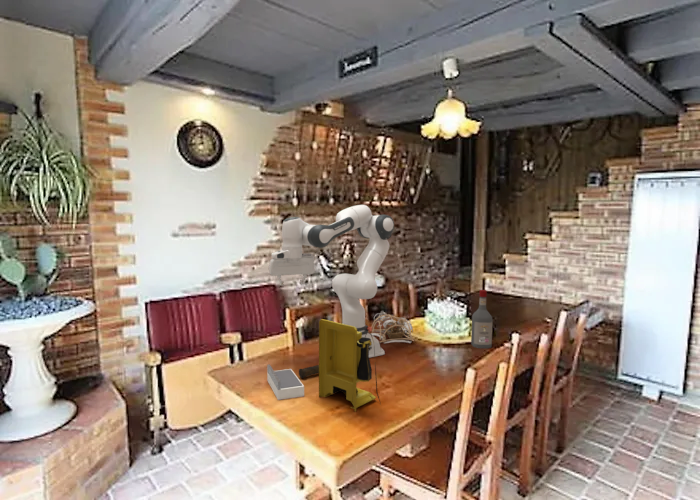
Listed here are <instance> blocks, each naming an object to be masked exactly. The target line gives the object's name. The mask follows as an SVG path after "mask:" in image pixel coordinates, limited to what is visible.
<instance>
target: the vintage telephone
mask: <svg viewBox="0 0 700 500" xmlns="http://www.w3.org/2000/svg"><path fill="white" fill-rule="evenodd" d="M368 332H369V331H368ZM368 332H367V333H368ZM367 333H366V335H367ZM369 334H370V332H369ZM371 336H372V334H371ZM365 337H366V336H365ZM365 337H362V332H358V331H357V328H356V327H354V326H350V325H346V324H343V323H341V322H336V321H332V320H328V319H323V318H321V319H319V321H318V365H319V373H318V398H326V397H328V396H329V397H330V396H331V395H335V394H336V393H338V392H342V393H343V394H344V396H346V397H345V398H346V399H345V400H347V401H349V402H350V403H351V404H352V406H350V408H351V409H354V412H357V409H358V408H359V407H361V406H363V405H366V404H367V403H369V402H372V401H375V402H376V403H378V401H379V405H382V404H381V399H380V396H379V393H378V382H377V381H378V380H377V377H375V390H376V391H375V392H376V396H375V395H374V394H373V393H372V392H370V391H367V390H364V389H361V388H359V387H357V385H358V384H357V383H359V382H363V383H364V382H367V383H368V382H369V381H371V380H372V379H373V378H372V377H373V374H372V373H373V372H372V371H373V369H372V365H371V360H370V358H369V346H371V345H372V342H371V339H370V338H365ZM372 340H373V337H372ZM373 343H374V341H373ZM374 356H375V349H374ZM375 357H376V356H375ZM376 366H377V365H376V363H374V370H375V371H374V372H375V376H377V367H376ZM376 398H377V399H378V401H377V400H376Z"/></svg>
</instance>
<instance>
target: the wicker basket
mask: <svg viewBox="0 0 700 500" xmlns="http://www.w3.org/2000/svg"><path fill="white" fill-rule="evenodd" d="M377 315H378V316H377ZM376 316H377V317H376ZM375 317H376V318H375ZM373 319H374V320H373V322H372V325H371V327H372V331H371V333H370V332H369V333H370V334H372V335H373V336H374V337H375V336H376V337H379V343H380V344H382V343H383V344H389V343H408V344H411V343H412V341H413V342H415V339H414V338H413V336H412V332H411V330H412V329H413V326H412V323H411V321H410V320H409V319H407V318H405V317H397V316H395V315H394V314H389V313H388V314H387V313H386V312H384V311H383V310H381V311H380V313H376V314H375V315H374V317H373ZM395 319H396V320H397V321H396V320H395ZM382 322H383V323H382ZM377 323H378V325H377ZM381 323H382V324H381ZM382 326H383V328H382ZM375 327H377V328H378V329H375ZM412 331H413V330H412ZM407 332H408V333H407ZM386 336H388V337H386ZM409 336H410V337H409ZM387 338H389V339H387Z"/></svg>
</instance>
